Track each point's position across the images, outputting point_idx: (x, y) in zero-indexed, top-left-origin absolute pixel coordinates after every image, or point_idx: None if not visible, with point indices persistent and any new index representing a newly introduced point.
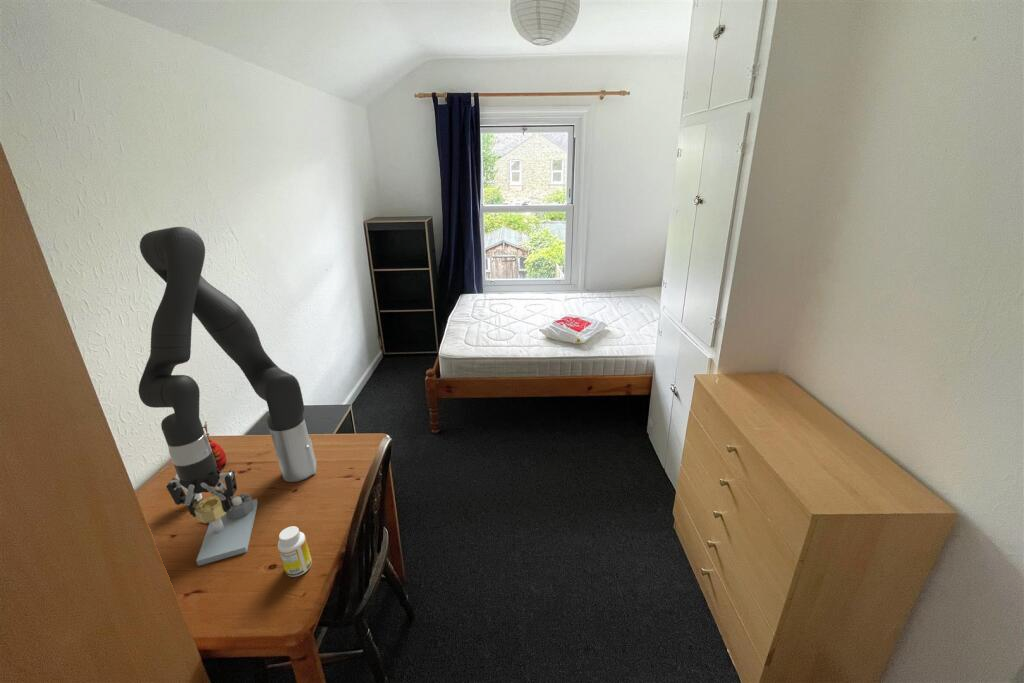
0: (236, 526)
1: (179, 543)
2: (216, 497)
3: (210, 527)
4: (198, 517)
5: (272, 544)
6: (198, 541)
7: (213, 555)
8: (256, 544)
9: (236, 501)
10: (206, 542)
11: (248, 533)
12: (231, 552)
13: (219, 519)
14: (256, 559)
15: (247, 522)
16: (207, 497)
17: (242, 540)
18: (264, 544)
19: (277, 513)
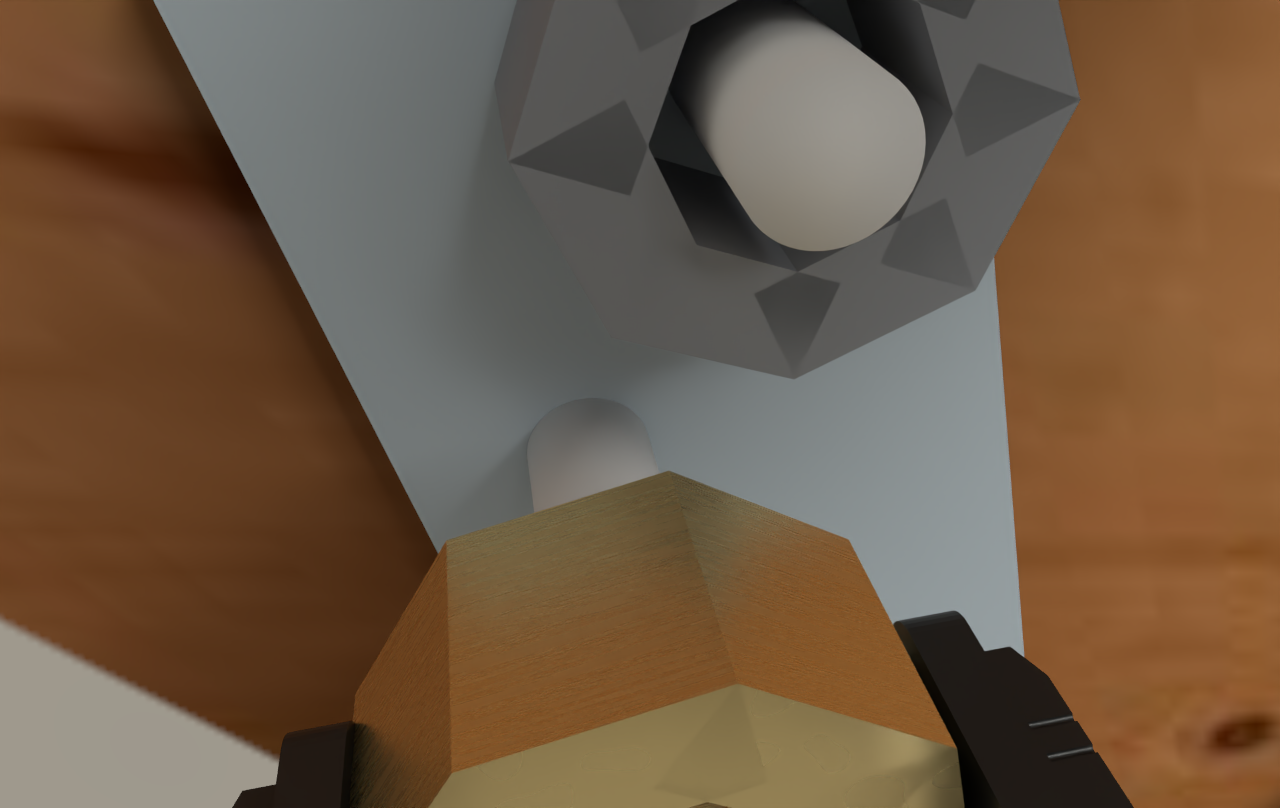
0: (811, 401)
1: (49, 520)
2: (727, 762)
3: (402, 401)
4: None
5: (1228, 544)
6: (317, 495)
7: None
8: (1067, 543)
9: (856, 236)
10: None
11: (1013, 515)
12: None
13: None
14: (1100, 686)
15: (949, 339)
16: (463, 778)
17: (972, 606)
18: (1149, 543)
19: (1270, 45)
